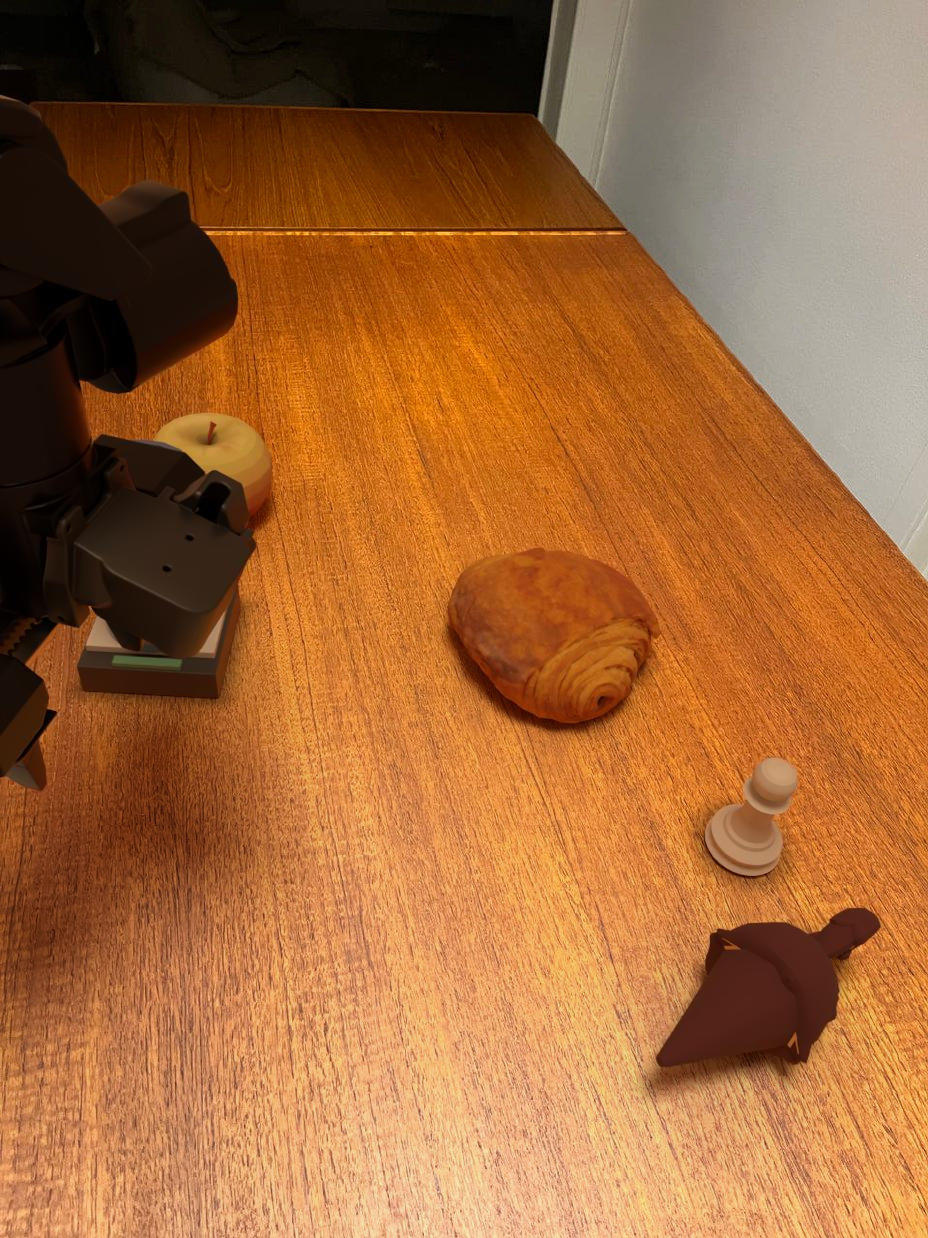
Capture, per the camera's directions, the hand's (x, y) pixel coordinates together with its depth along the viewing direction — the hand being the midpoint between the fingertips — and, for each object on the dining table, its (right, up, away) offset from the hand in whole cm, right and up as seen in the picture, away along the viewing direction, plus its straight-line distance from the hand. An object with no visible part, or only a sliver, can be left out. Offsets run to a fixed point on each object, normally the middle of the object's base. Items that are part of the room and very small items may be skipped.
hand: (87, 712), depth 47 cm
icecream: (+34, -17, +6) cm, 38 cm away
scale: (-3, +3, +21) cm, 21 cm away
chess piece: (+36, -10, +14) cm, 39 cm away
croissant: (+25, +2, +24) cm, 35 cm away
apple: (-2, +14, +33) cm, 36 cm away
